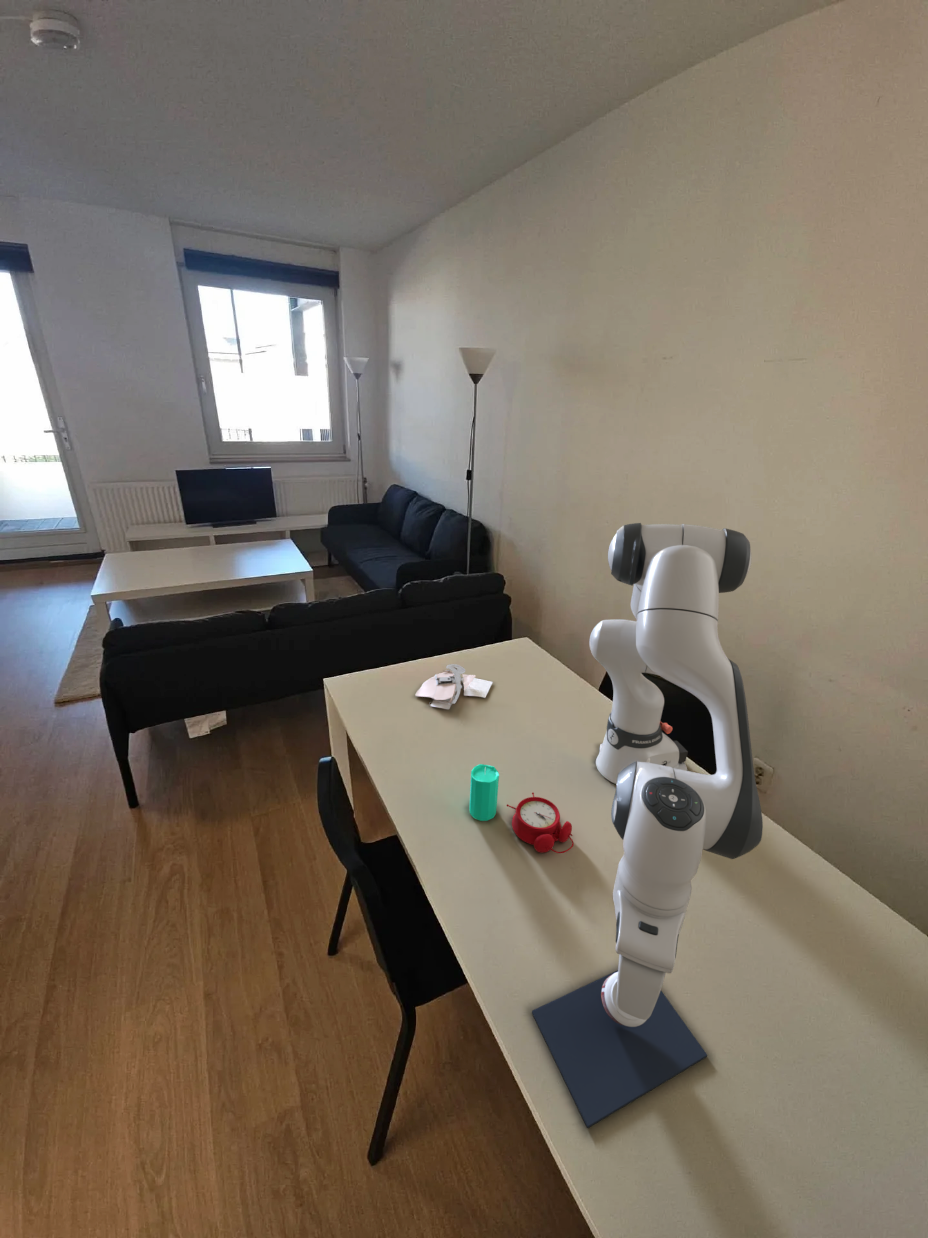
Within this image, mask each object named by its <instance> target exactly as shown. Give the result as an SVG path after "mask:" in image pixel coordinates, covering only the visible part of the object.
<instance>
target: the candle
mask: <svg viewBox="0 0 928 1238" xmlns="http://www.w3.org/2000/svg"><path fill="white" fill-rule="evenodd" d="M499 780H500V773H499V771H498V770H497V768H496V767H495V766H494V765H489V764H484V763H479V764H477V765H475V766H474V767H473V768H472V769H471V771H470V786H469V787H470V788H469V805H468V806H469V815H470V816H471V817H472V818H473V819H475V820H477V821H480V822H487V821H490V820H492V819H494V817H495V816H496V814H497V808H498V794H499Z"/></svg>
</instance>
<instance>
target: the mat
mask: <svg viewBox="0 0 928 1238" xmlns="http://www.w3.org/2000/svg"><path fill="white" fill-rule="evenodd" d="M616 972H618V969H617V970H615V971H612V972H611V973H609V974H607V975H604V976H602V977H600V978H598V979H595V980H593V981H592V982H590V983H588V984H585V985H583V986H581V987H579V988H577V989H574V990H572V991H571V992H568V993H565V994H564V995H562V996H560V997H557V998H556V999H553V1000H551V1001H549V1002H548V1003H545V1004H543V1005H541V1006H539V1007H537V1008H535V1009H533V1010H531V1015H532V1016H533V1019H534V1021H535V1023H536V1024H537V1025H536V1026H537V1027H538V1029H539V1031H540V1033H541V1035H542V1037H543V1039H544V1041H545V1044H546V1045H547V1047H548V1050H549V1052H550V1054H551V1056H552V1058H553V1060H554V1062H555V1065H556V1066H557V1068H558V1071H559V1072H560V1075H561V1077H562V1079H563V1081H564V1083H565V1085H566V1087H567V1089H568V1092H569V1093H570V1095H571V1097H572V1099H573V1102H574V1104H575V1105H576V1108H577V1109H578V1112H579V1114H580V1116H581V1118H582V1120H583V1122H584V1124H585V1126H586V1128H587V1129H590V1128H591V1127H592V1126H594V1125H596V1124H598V1123H599V1122H601V1121H603V1120H604V1119H606V1118H607V1117H609V1116H611V1115H613V1114H614V1113H616V1112H617V1111H619V1110H621V1109H622V1108H624V1107H626V1106H627V1105H629V1104H632V1102H634V1101H636V1100H638V1099H639V1098H642V1097H643V1096H645V1095H646V1094H648V1093H649V1092H651V1091H653V1090H654V1089H656V1088H658V1087H660V1086H661V1085H663V1084H664V1083H666V1082H668V1081H669V1080H671V1079H673V1078H674V1077H676V1076H677V1075H679V1074H681V1073H683V1072H684V1071H686V1070H688V1069H689V1068H691V1067H693V1066H694V1065H696V1064H698V1063H699V1062H701V1061H703V1060H704V1059H706V1058H707V1057H708V1053H707V1051H705V1050H704V1048H703V1047H702V1045H701V1043H699V1041H698V1040H697V1038H696V1037H695V1035H694V1034H693V1033H692V1031H691V1030H690V1029H689V1027H688V1026H687V1024H686V1023H685V1021H684V1020H683V1019H682V1018H681V1016H680V1015H679V1013H678V1012H677V1010H676V1009H675V1008H674V1006H673V1005H672V1003H671V1002H670V1000H669V999H668V998H667V997H666V995H665V993H664V992H663V991H662V990H661V991H660V994H659V997H658V999H657V1002H656V1004H655V1007H654V1009H653V1011H652V1014H651V1016H650V1017H649V1018H648V1019H647V1020H646V1021H645V1022H644V1023H643V1024H642V1025H640V1026H636V1027H628V1026H624V1025H621V1024H619V1023H617V1022H615V1021H614V1020H613V1019H612V1018H611V1017H610V1016H609V1015H608V1014H607V1012H606V1010H605V1008H604V1006H603V1003H602V997H601V992H602V986H603V984H604V982H605V980H606V979H607V978H608V977H609V976H611V975H612V974H614V973H616Z"/></svg>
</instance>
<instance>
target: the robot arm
mask: <svg viewBox="0 0 928 1238" xmlns="http://www.w3.org/2000/svg"><path fill="white" fill-rule="evenodd" d="M607 562H608V566H609V569H610V575H612V577H613V578H614V579H615V580H616V581H618V582H619V583H622V584H625V585H628V586H632V587H633V588H632V592H631V599H630V610H631V612H632V615H633V616H634V618H635V619H636V620H630V619H622V618H621V619H619V618H618V619H617V618H616V619H603V620H601V621H599V622H598V623H597V624H595V626H594V627H593V629H592V631H591V633H590V636H589V640H588V641H589V642H588V644H589V645H588V646H589V650H590V653H591V655H592V657H593V658H594V659H595V661H596V662H598V664H600V665H601V667H603V668H604V669H605V671H606V673H607V674H608V676H609V678H610V680H611V683H612V690H613V695H612V696H613V697H612V706H611V711H610V713H609V715H608V718H607V723H606V731H605V735H604V736H603V737H604V738H603V742H602V743H600V745H599V752H598V755H597V757H596V759H595V767H596V769H597V770H598V771H597V772H599V774H600V775H601V776H602V777H603V778H605V779H606V780H608V781H609V782H611V783H613V784H615V785H616V789H615V793H614V796H613V799H612V804H611V810H610V811H611V812H610V816H611V817H610V818H611V822H612V825H613V827H614V828H615V830H616V833H617V834H618V836H619V837H620V839H621V840H622V848H623V855H622V857H621V858H620V860H619V862H618V865H617V870H616V875H615V879H614V885H613V890H612V901H613V903H614V913H615V919H616V922H615V923H616V924H615V952H616V954H618V967H617V970H618V981H617V1005H618V1007H619V1009H620V1010H622V1011H623V1012H625V1013H627V1014H629V1015H631V1016H634V1017H636V1018H639V1019H643V1020H646V1019H648V1018H649V1017H650V1016H651V1014H652V1011H653V1009H654V1007H655V1004H656V1002H657V999H658V997H659V994H660V991H662V988H663V986H664V982H665V977H666V974H672V973H673V971H674V968H675V963H676V958H677V951H678V941H679V936H680V933H681V931H682V928H683V925H684V921H685V918H686V915H687V914H686V913H687V910H688V906H689V903H690V899H691V896H692V889H693V887H692V880H693V879H694V878H695V876H696V875H697V874H698V871H699V868H700V864H701V860H702V855H703V852H704V851H706V852H708V853H711V854H714V855H718V856H721V857H724V858H726V859H730V860H736V859H738V858H740V857H743V856H744V855H746V854H748V853H750V852H751V851H753V850H754V849H755V848H757V847H758V846H759V845H760V843H761V842H762V837H763V830H764V829H763V828H764V821H763V813H762V808H761V802H760V796H759V792H758V787H757V782H756V777H755V776H756V775H755V768H754V767H755V766H754V759H753V753H752V752H753V750H752V749H753V748H752V740H751V730H750V724H749V712H748V705H747V698H746V697H747V696H746V691H745V685H744V681H743V676H742V673H741V669H740V668H739V665H738V664H737V663H736V662H734V661H733V660H731V659H730V658H728V657H727V654H726V653H725V651H724V649H723V646H722V644H721V640H720V638H719V629H718V627H719V613H720V612H719V610H720V594H724V593H731V592H735V591H736V590H737V589H738V588H740V587H741V586H742V585H743V584H744V582H745V580H746V578H747V576H748V574H749V572H750V569H751V567H752V550H751V542H750V541H749V539H748V537H747V536H746V535H745V534H744V533H743V532H740V531H737V530H734V529H730V528H725V527H724V528H722V529H719V528H715V527H710V526H704V525H698V524H697V525H696V524H687V523H681V524H672V523H652V524H642V523H641V522H635V523H634V522H633V523H626V524H623V525H622V526H621V527H619V529H616V533H615V534H614V536H613V537H612V539H611V540H610V543H609V547H608V551H607ZM644 674H651V675H655V676H656V675H657V676H660V678H662V679H664V680H666V681H668V682H669V683H672V684H674V685H676V686H677V687H679V688H681V689H683V690H685V691H687V692H688V693H689V694H691V695H693V696H695V697H696V698H697V699H698V700H699V701H701V703H702V704H703V705H705V707H706V708H707V710H708V712H709V714H710V717H711V723H712V731H713V744H714V754H715V755H714V756H715V764H716V765H715V766H716V771H715V773H714V774H707V773H706V774H705V773H701V772H700V773H699V772H694V771H689V770H688V767H687V765H686V763H685V762H686V761H687V757H688V753H689V751H688V750H687V749H686V748H685V747H684V746H683V745H682V744H681V743H680V742H679V741H678V740H673V739H671V738H670V737H669V736H668V734H671V733H672V731H673V726H671V725H669V724H668V722H662V720H661V719H662V715H663V710H664V707H665V697H664V694H663V692H662V690H661V689H660V688H659V687H658V686H657V685H656V683H654V682H652V681H651V680H650V679H648V678H647V677H646V676H644ZM663 731H664V732H663Z"/></svg>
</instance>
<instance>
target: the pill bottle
mask: <svg viewBox="0 0 928 1238" xmlns="http://www.w3.org/2000/svg"><path fill="white" fill-rule="evenodd" d="M617 981H618V972H616V973H614V974H612V975H611V976H609V977H608V978H607V979H606V980H605V982H604V984H603V986H602V992H601V997H602V1003H603V1006H604V1008H605V1010H606V1012H607V1014H608V1015H609V1016H610V1017H611V1018H612V1019H613V1020H614V1021H615V1022H617V1023H619V1024H621V1025H624V1026H628V1027H636V1026H640V1025H642V1024H643V1023H644V1022H645V1021H646V1020H647V1019H646V1020H643V1019H639V1018H636V1017H634V1016H631V1015H629V1014H627V1013H625V1012H623V1011H622V1010H620V1009H619V1007H618V1005H617Z"/></svg>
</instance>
